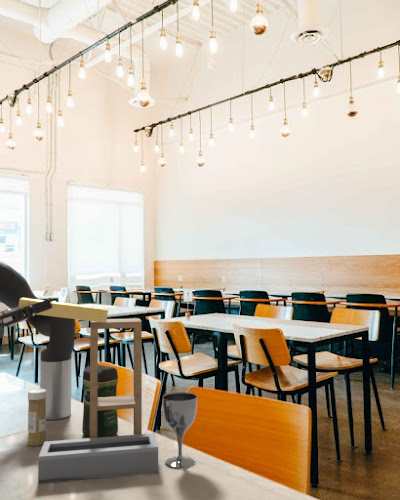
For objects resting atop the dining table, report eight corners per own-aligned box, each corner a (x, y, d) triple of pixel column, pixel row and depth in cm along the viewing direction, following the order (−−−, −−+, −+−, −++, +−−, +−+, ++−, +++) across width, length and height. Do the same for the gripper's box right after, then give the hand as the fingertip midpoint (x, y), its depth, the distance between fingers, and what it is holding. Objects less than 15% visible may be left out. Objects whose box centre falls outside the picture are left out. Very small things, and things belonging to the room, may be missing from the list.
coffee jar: (123, 434, 122) (123, 365, 123) (99, 442, 116) (99, 370, 117) (101, 426, 128) (101, 361, 130) (77, 434, 122) (77, 365, 123)
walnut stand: (91, 448, 112) (91, 319, 114) (139, 444, 114) (139, 318, 116) (89, 461, 104) (90, 322, 106) (141, 457, 107) (141, 321, 108)
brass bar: (20, 310, 105) (22, 297, 105) (106, 320, 109) (108, 308, 109) (17, 312, 102) (19, 299, 102) (106, 322, 106) (108, 310, 106)
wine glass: (184, 472, 98) (184, 402, 99) (155, 465, 102) (155, 397, 103) (203, 460, 105) (203, 394, 106) (176, 453, 109) (175, 390, 110)
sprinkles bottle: (48, 444, 116) (48, 390, 116) (29, 447, 113) (30, 393, 114) (43, 438, 119) (44, 387, 120) (25, 442, 117) (26, 389, 118)
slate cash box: (44, 466, 102) (44, 441, 102) (154, 456, 107) (154, 433, 107) (38, 483, 93) (38, 456, 94) (158, 472, 98) (158, 446, 98)
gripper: (-39, 317, 95) (42, 289, 98) (-20, 309, 109) (50, 285, 112) (-27, 350, 95) (53, 321, 98) (-9, 338, 109) (60, 313, 112)
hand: (51, 302), depth 105 cm, fingers closed on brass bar, 3 cm apart
